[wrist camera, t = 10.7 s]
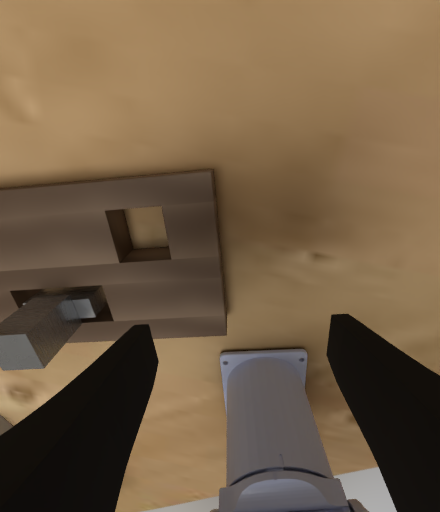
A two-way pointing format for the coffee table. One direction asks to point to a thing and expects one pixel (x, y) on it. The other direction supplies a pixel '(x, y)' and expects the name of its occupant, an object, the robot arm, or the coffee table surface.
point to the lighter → (4, 425)
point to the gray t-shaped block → (46, 325)
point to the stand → (118, 253)
